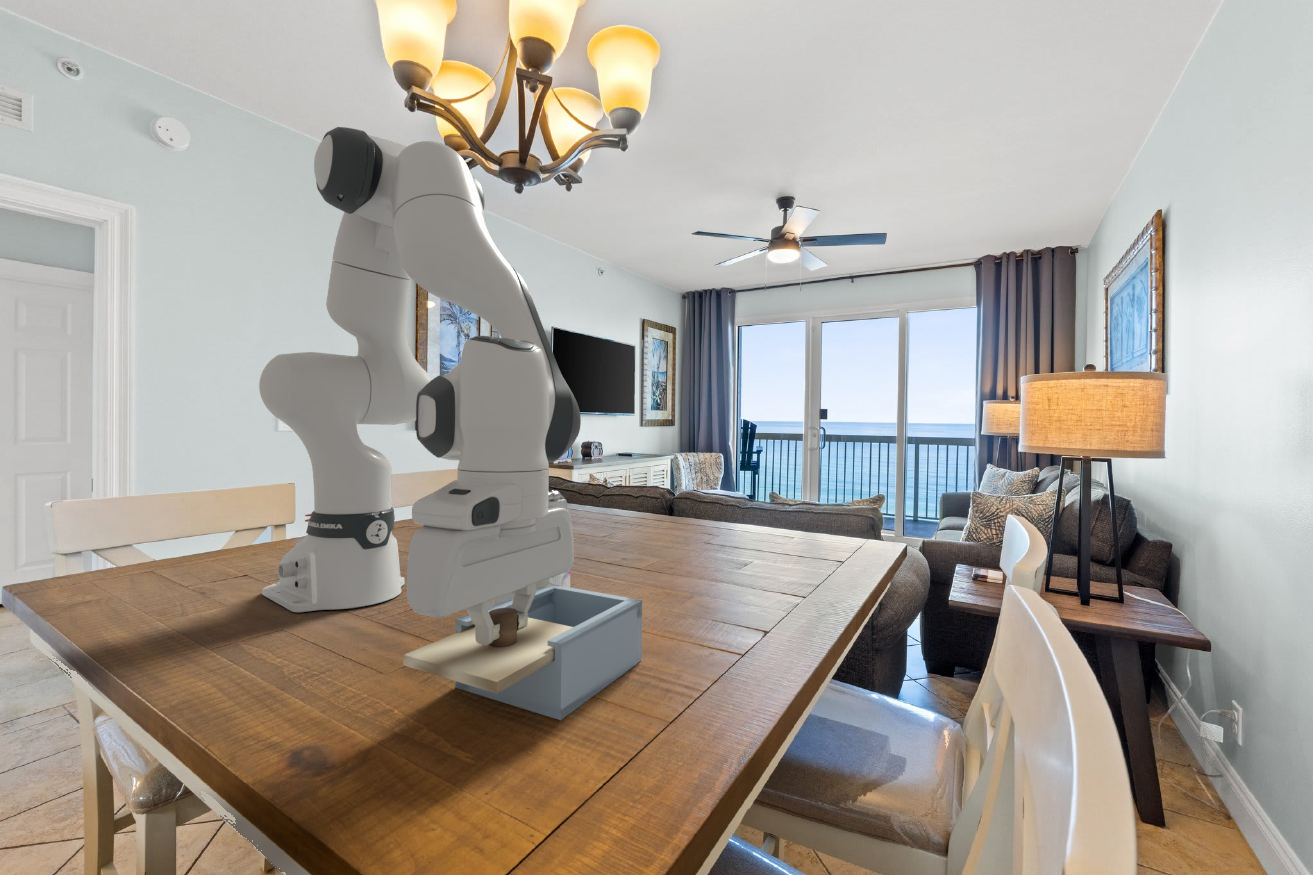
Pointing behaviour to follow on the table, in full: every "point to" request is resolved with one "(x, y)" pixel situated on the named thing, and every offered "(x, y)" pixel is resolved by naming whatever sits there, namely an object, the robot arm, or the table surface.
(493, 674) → the lid
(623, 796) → the table surface
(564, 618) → the box
